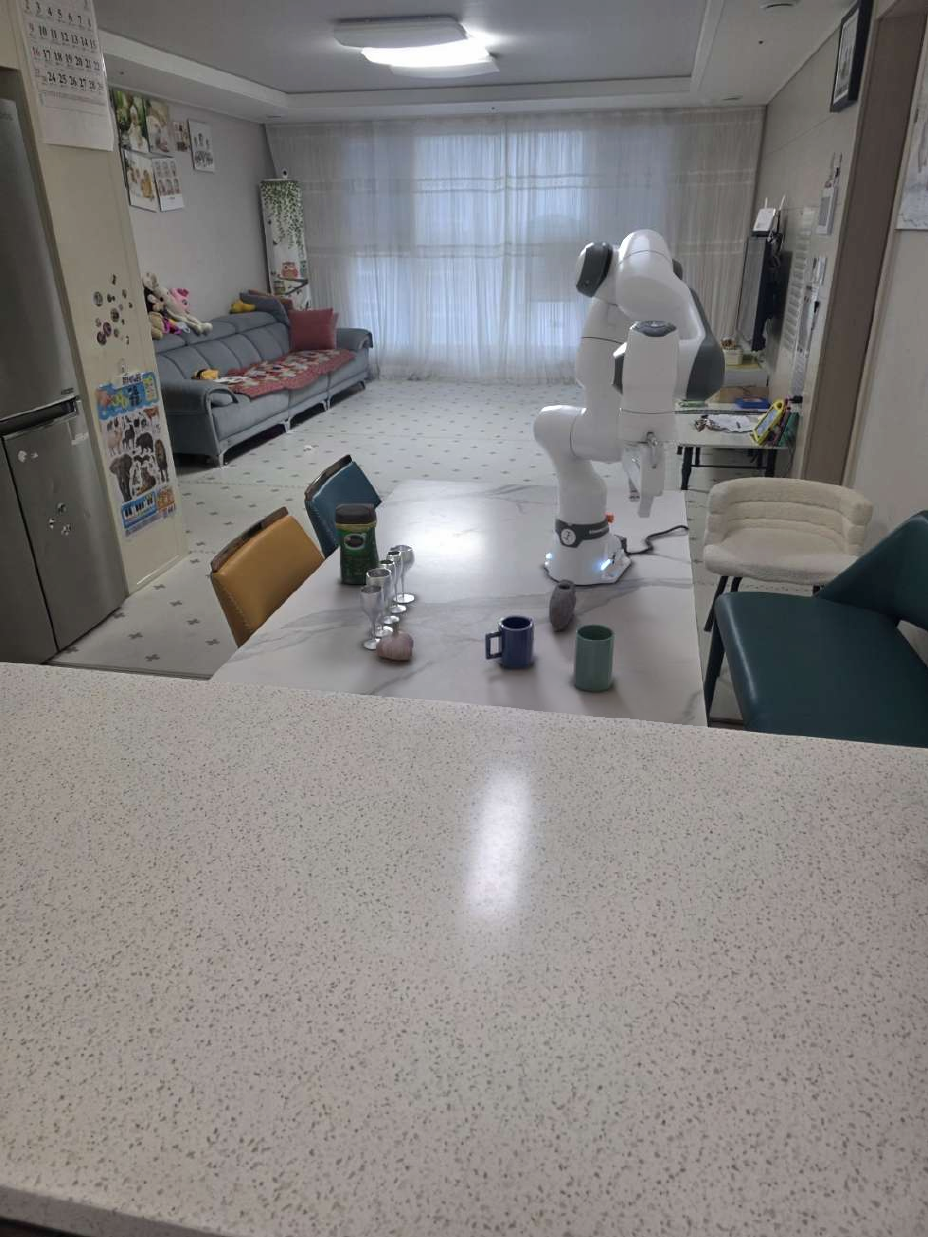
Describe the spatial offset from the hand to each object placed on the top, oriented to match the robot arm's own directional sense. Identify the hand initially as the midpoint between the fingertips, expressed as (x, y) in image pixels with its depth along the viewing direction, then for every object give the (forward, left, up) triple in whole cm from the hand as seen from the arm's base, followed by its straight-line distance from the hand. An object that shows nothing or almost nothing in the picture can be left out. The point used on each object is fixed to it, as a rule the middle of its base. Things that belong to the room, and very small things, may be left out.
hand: (638, 508), depth 141 cm
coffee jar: (-4, -72, -31) cm, 78 cm away
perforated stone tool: (-11, -21, -31) cm, 39 cm away
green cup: (+8, -3, -31) cm, 32 cm away
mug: (+11, -19, -31) cm, 38 cm away
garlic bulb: (+21, -39, -31) cm, 54 cm away
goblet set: (+9, -51, -31) cm, 60 cm away
